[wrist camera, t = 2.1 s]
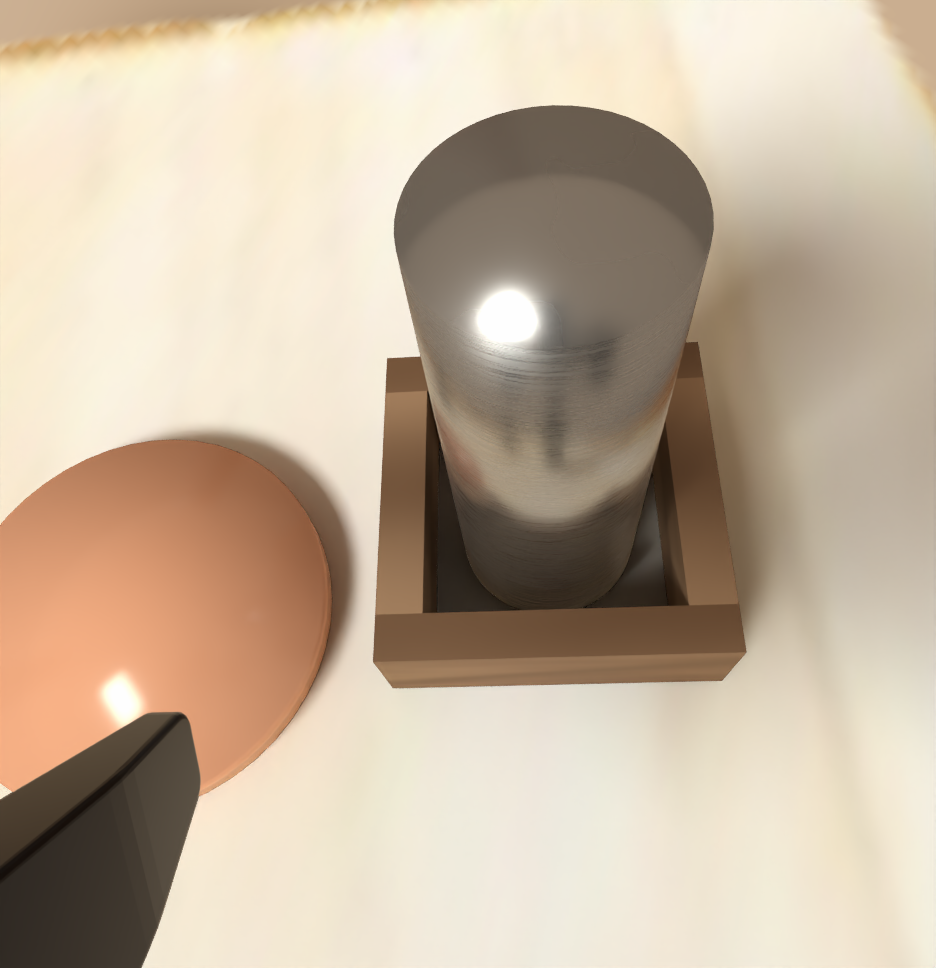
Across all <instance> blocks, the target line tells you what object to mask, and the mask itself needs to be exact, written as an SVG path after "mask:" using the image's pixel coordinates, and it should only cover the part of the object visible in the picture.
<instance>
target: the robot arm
mask: <svg viewBox="0 0 936 968" xmlns="http://www.w3.org/2000/svg"><path fill="white" fill-rule="evenodd" d="M200 785H201V776H200V769H199V764H198V759H197V755H196V750H195V745H194V740H193V735H192V730H191V725H190V722H189V720H188V718H187V716H186V715H184V714H183V713H182V712H151V713H146V714H144V715H143V716H141V717H139V718H137V719H136V720H134V721H132V722H131V723H129V724H127V725H126V726H124V727H122V728H120V729H119V730H117V731H115V732H114V733H112V734H110V735H109V736H107V737H105V738H104V739H102V740H100V741H98V742H97V743H95V744H93V745H92V746H90V747H88V748H87V749H85V750H83V751H81V752H80V753H78V754H76V755H75V756H73V757H71V758H70V759H68V760H66V761H64V762H63V763H61V764H59V765H58V766H56V767H54V768H53V769H51V770H49V771H48V772H46V773H44V774H42V775H41V776H39V777H37V778H36V779H34V780H32V781H31V782H29V783H27V784H25V785H24V786H22V787H20V788H19V789H17V790H15V791H14V792H12V793H10V794H8V795H7V796H5V797H3V798H2V799H0V968H142V965H143V963H144V961H145V958H146V956H147V954H148V951H149V949H150V946H151V944H152V941H153V939H154V936H155V934H156V931H157V929H158V926H159V923H160V920H161V917H162V914H163V911H164V908H165V905H166V902H167V899H168V895H169V892H170V889H171V886H172V882H173V879H174V876H175V872H176V869H177V866H178V863H179V859H180V856H181V853H182V850H183V846H184V843H185V840H186V837H187V833H188V830H189V827H190V824H191V820H192V817H193V814H194V811H195V807H196V804H197V801H198V797H199V793H200Z"/></svg>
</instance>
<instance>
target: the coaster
mask: <svg viewBox="0 0 936 968" xmlns="http://www.w3.org/2000/svg"><path fill="white" fill-rule="evenodd" d="M331 610H332V589H331V576H330V572H329V567H328V562H327V557H326V554H325V551H324V548H323V546H322V543H321V540H320V538H319V535H318V533H317V531H316V530H315V528H314V526H313V524H312V522H311V521H310V519H309V517H308V515H307V514H306V512H305V511H304V509H303V508H302V506H301V504H300V503H299V502H298V500H297V499H296V498H295V497H294V495H293V494H292V493H291V491H290V490H289V489H288V487H287V486H286V485H284V484H283V483H282V482H281V481H280V480H279V479H278V478H277V477H276V476H275V475H274V474H273V473H272V472H270V471H269V470H267V469H266V468H265V467H263V466H262V465H260V464H259V463H258V462H256V461H254V460H252V459H250V458H248V457H246V456H244V455H242V454H240V453H238V452H236V451H233V450H230V449H227V448H224V447H221V446H218V445H214V444H209V443H204V442H199V441H188V440H157V441H148V442H142V443H136V444H130V445H127V446H123V447H120V448H116V449H112V450H109V451H106V452H104V453H101V454H99V455H96V456H94V457H91V458H89V459H86V460H84V461H82V462H80V463H78V464H76V465H75V466H73V467H71V468H69V469H67V470H65V471H63V472H62V473H60V474H59V475H57V476H56V477H54V478H53V479H51V480H50V481H48V482H46V483H45V484H44V485H42V486H41V487H40V488H39V489H37V490H36V491H35V492H34V493H32V494H31V495H30V496H29V497H27V498H26V499H25V500H24V501H23V502H22V503H21V504H20V505H19V506H18V507H17V508H16V509H15V510H14V511H13V512H12V513H10V514H9V515H8V516H7V518H6V519H5V520H4V521H3V522H2V523H1V525H0V783H1V784H2V785H4V786H5V787H6V788H8V789H9V790H11V791H12V792H14V791H15V790H17V789H19V788H20V787H22V786H24V785H25V784H27V783H29V782H31V781H32V780H34V779H36V778H37V777H39V776H41V775H42V774H44V773H46V772H48V771H49V770H51V769H53V768H54V767H56V766H58V765H59V764H61V763H63V762H64V761H66V760H68V759H70V758H71V757H73V756H75V755H76V754H78V753H80V752H81V751H83V750H85V749H87V748H88V747H90V746H92V745H93V744H95V743H97V742H98V741H100V740H102V739H104V738H105V737H107V736H109V735H110V734H112V733H114V732H115V731H117V730H119V729H120V728H122V727H124V726H126V725H127V724H129V723H131V722H132V721H134V720H136V719H137V718H139V717H141V716H143V715H144V714H146V713H151V712H182V713H183V714H184V715H186V716H187V718H188V720H189V722H190V725H191V730H192V735H193V740H194V745H195V750H196V755H197V759H198V764H199V769H200V776H201V785H200V793H199V796H201V795H203V794H206V793H208V792H209V791H211V790H213V789H214V788H216V787H218V786H219V785H221V784H223V783H224V782H226V781H228V780H229V779H231V778H233V777H234V776H235V775H236V774H238V773H239V772H240V771H242V770H243V769H244V768H245V767H247V766H248V765H249V764H251V763H252V762H253V761H254V760H255V759H256V758H257V757H258V756H259V755H260V754H261V753H263V752H264V751H265V750H266V749H267V748H268V747H269V746H270V745H271V744H272V743H273V742H274V741H275V739H276V738H277V737H278V736H279V734H280V733H281V732H282V731H283V729H284V728H285V727H286V726H287V725H288V723H289V722H290V721H291V720H292V718H293V716H294V715H295V713H296V712H297V710H298V709H299V707H300V705H301V704H302V702H303V701H304V699H305V697H306V696H307V694H308V691H309V689H310V687H311V685H312V683H313V681H314V679H315V677H316V675H317V672H318V670H319V667H320V664H321V661H322V658H323V655H324V652H325V649H326V644H327V639H328V634H329V629H330V624H331Z"/></svg>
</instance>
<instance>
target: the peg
mask: <svg viewBox="0 0 936 968" xmlns="http://www.w3.org/2000/svg"><path fill="white" fill-rule="evenodd" d="M712 235H713V209H712V203H711V198H710V195H709V192H708V190H707V187H706V184H705V182H704V180H703V178H702V177H701V175H700V173H699V171H698V170H697V168H696V167H695V165H694V164H693V163H692V162H691V160H690V159H689V158H688V157H687V155H686V154H685V153H684V152H682V151H681V150H680V149H679V148H678V147H677V146H676V145H675V144H674V143H673V142H671V141H670V140H669V139H667V138H666V137H665V136H663V135H662V134H660V133H659V132H657V131H655V130H654V129H652V128H650V127H648V126H646V125H645V124H642V123H640V122H638V121H635V120H633V119H631V118H628V117H626V116H622V115H619V114H616V113H613V112H609V111H604V110H599V109H594V108H588V107H579V106H555V105H552V106H539V107H530V108H524V109H518V110H513V111H509V112H506V113H502V114H498V115H495V116H492V117H489V118H487V119H484V120H481V121H479V122H477V123H475V124H472V125H470V126H468V127H466V128H464V129H462V130H461V131H459V132H457V133H456V134H454V135H453V136H451V137H449V138H448V139H446V140H445V141H444V142H443V143H441V144H440V145H439V146H437V147H436V148H435V149H434V150H433V151H432V152H431V153H430V154H429V155H428V156H427V157H426V158H425V159H424V160H423V161H422V162H421V163H420V164H419V166H418V167H417V168H416V169H415V171H414V172H413V173H412V175H411V176H410V178H409V180H408V182H407V183H406V185H405V187H404V189H403V191H402V194H401V196H400V199H399V202H398V205H397V209H396V214H395V219H394V239H395V246H396V252H397V257H398V261H399V265H400V270H401V274H402V278H403V283H404V287H405V291H406V295H407V300H408V304H409V308H410V313H411V317H412V321H413V326H414V330H415V334H416V339H417V343H418V347H419V352H420V356H421V360H422V365H423V369H424V373H425V378H426V382H427V386H428V390H429V395H430V399H431V403H432V408H433V412H434V416H435V421H436V425H437V429H438V434H439V438H440V442H441V447H442V451H443V455H444V460H445V464H446V468H447V473H448V477H449V481H450V485H451V490H452V494H453V498H454V503H455V507H456V511H457V516H458V520H459V524H460V529H461V533H462V537H463V542H464V546H465V550H466V554H467V557H468V561H469V563H470V565H471V568H472V570H473V572H474V573H475V575H476V576H477V578H478V580H479V581H480V582H481V583H482V584H483V586H484V587H485V588H486V589H487V590H488V591H489V592H490V593H492V594H493V595H494V596H495V597H497V598H498V599H500V600H501V601H502V602H504V603H506V604H508V605H510V606H512V607H514V608H517V609H520V610H549V609H581V608H583V607H585V606H588V605H590V604H592V603H593V602H595V601H596V600H598V599H600V598H601V597H602V596H603V595H605V594H606V593H607V592H608V591H609V590H610V589H611V588H612V587H613V586H614V585H615V584H616V582H617V581H618V580H619V578H620V577H621V575H622V573H623V571H624V570H625V568H626V566H627V563H628V560H629V557H630V553H631V549H632V546H633V542H634V538H635V534H636V530H637V526H638V523H639V519H640V515H641V511H642V507H643V503H644V500H645V496H646V492H647V488H648V484H649V480H650V477H651V473H652V469H653V465H654V461H655V457H656V454H657V450H658V446H659V442H660V438H661V434H662V431H663V427H664V423H665V419H666V415H667V411H668V408H669V404H670V400H671V396H672V392H673V388H674V385H675V381H676V377H677V373H678V369H679V365H680V362H681V358H682V354H683V350H684V346H685V342H686V338H687V335H688V331H689V327H690V323H691V319H692V315H693V312H694V308H695V304H696V300H697V296H698V292H699V289H700V285H701V281H702V277H703V273H704V269H705V266H706V262H707V258H708V254H709V250H710V246H711V241H712Z"/></svg>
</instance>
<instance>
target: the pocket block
mask: <svg viewBox="0 0 936 968" xmlns="http://www.w3.org/2000/svg"><path fill="white" fill-rule="evenodd" d="M439 442H440V438H439V434H438V429H437V425H436V421H435V416H434V412H433V408H432V403H431V399H430V395H429V390H428V386H427V382H426V378H425V373H424V369H423V365H422V360H421V357H404V358H387V373H386V395H385V416H384V438H383V460H382V481H381V503H380V524H379V546H378V567H377V589H376V611H375V632H374V654H373V662H374V664H375V665H376V666H377V668H378V669H379V670H380V672H381V673H382V674H383V676H384V677H385V678H386V680H387V681H388V682H389V683H390V685H391V686H392V687H393V688H426V687H469V686H512V685H556V684H599V683H642V682H685V681H722V680H723V679H724V678H725V677H726V675H727V674H728V673H729V672H730V671H731V670H732V668H733V667H734V666H735V665H736V664H737V663H738V661H739V660H740V659H741V658H742V657H743V656H744V654H745V653H746V646H745V640H744V634H743V627H742V621H741V615H740V608H739V602H738V595H737V589H736V583H735V576H734V570H733V563H732V557H731V551H730V544H729V538H728V531H727V525H726V519H725V512H724V506H723V499H722V493H721V487H720V480H719V474H718V468H717V461H716V455H715V448H714V442H713V436H712V429H711V423H710V416H709V410H708V404H707V397H706V391H705V384H704V378H703V372H702V365H701V359H700V352H699V346H698V342H691V343H685V346H684V350H683V354H682V358H681V362H680V365H679V369H678V373H677V377H676V381H675V385H674V388H673V392H672V396H671V400H670V404H669V408H668V411H667V415H666V419H665V423H664V427H663V431H662V434H661V438H660V442H659V446H658V450H657V454H656V457H655V461H654V465H653V469H652V472H653V480H654V489H655V498H656V506H657V515H658V523H659V532H660V540H661V549H662V557H663V566H664V575H665V583H666V592H667V600H668V606H649V607H616V608H582V609H549V610H515V611H481V612H448V613H437V555H438V473H439Z"/></svg>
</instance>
